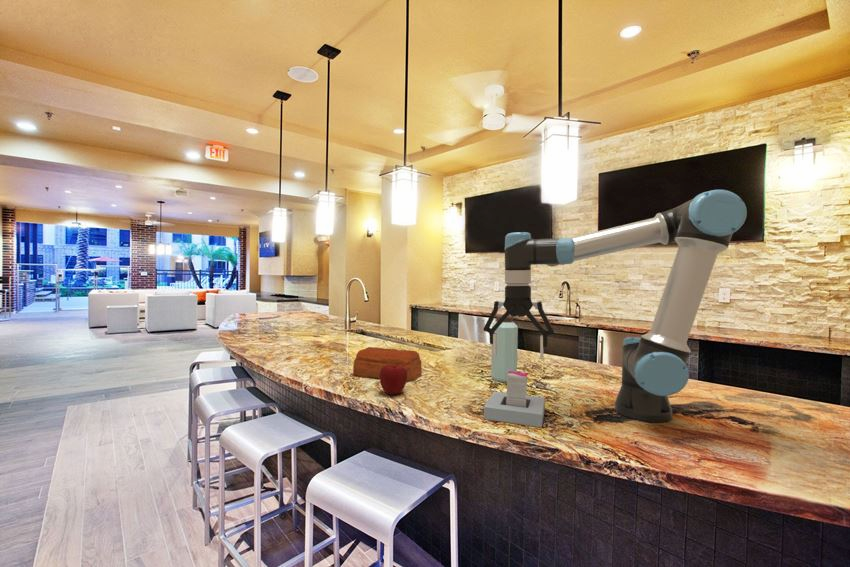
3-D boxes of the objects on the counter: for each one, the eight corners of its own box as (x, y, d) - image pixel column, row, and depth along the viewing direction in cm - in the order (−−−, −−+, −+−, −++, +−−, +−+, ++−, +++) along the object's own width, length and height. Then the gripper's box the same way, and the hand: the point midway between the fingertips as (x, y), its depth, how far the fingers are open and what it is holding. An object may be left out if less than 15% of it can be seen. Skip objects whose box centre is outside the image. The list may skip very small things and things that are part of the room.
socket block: (544, 408, 120) (545, 397, 120) (541, 427, 105) (542, 414, 105) (493, 402, 126) (493, 391, 125) (483, 419, 111) (483, 406, 110)
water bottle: (522, 380, 152) (523, 317, 151) (504, 384, 146) (505, 318, 146) (503, 375, 160) (504, 315, 160) (485, 378, 154) (486, 316, 154)
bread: (410, 384, 146) (410, 356, 146) (349, 376, 155) (349, 350, 155) (424, 374, 160) (425, 349, 160) (368, 368, 170) (368, 344, 170)
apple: (400, 399, 127) (401, 368, 127) (374, 395, 131) (374, 366, 130) (410, 391, 136) (411, 362, 136) (386, 388, 139) (386, 360, 139)
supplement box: (526, 416, 112) (527, 376, 111) (505, 413, 113) (506, 375, 113) (526, 409, 117) (527, 371, 117) (506, 407, 119) (507, 370, 119)
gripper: (562, 284, 114) (562, 356, 114) (479, 284, 122) (479, 351, 123) (562, 285, 107) (562, 361, 107) (473, 285, 115) (474, 356, 116)
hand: (518, 356), depth 115 cm, fingers open, 13 cm apart
